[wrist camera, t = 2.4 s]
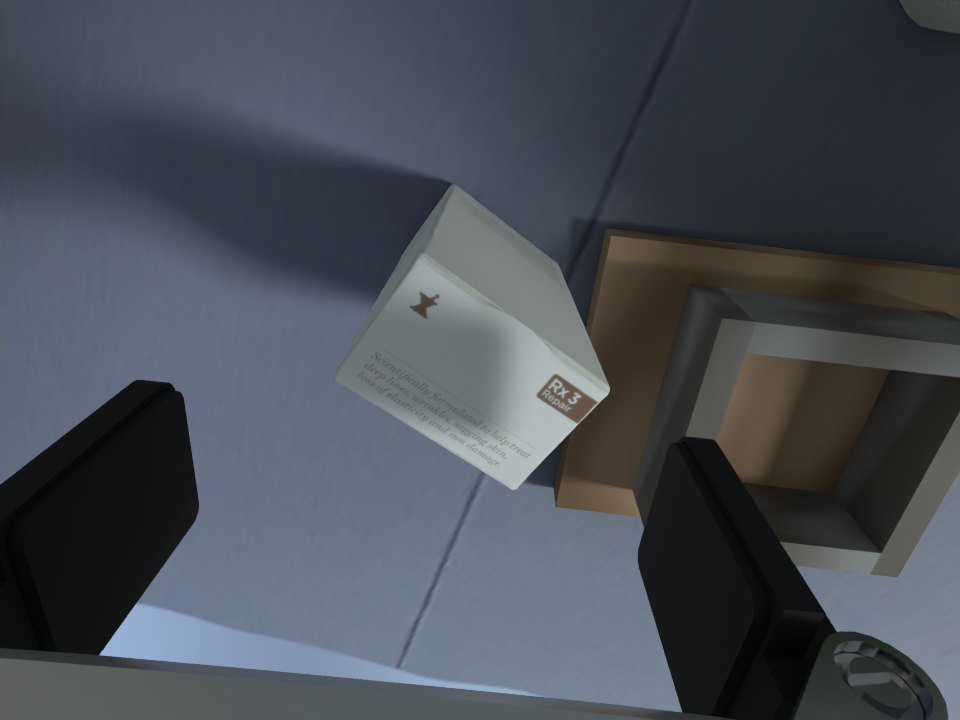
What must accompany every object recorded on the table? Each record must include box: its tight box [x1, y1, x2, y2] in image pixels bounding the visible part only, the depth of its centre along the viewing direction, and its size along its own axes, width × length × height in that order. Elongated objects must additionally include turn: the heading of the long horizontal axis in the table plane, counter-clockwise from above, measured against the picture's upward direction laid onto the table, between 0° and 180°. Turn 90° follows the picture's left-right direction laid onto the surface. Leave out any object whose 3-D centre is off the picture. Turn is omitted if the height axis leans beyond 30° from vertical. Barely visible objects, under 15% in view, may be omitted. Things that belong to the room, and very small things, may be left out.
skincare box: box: [334, 184, 610, 490], centre depth 19 cm, size 6×4×12 cm
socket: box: [554, 228, 960, 577], centre depth 24 cm, size 18×14×6 cm
